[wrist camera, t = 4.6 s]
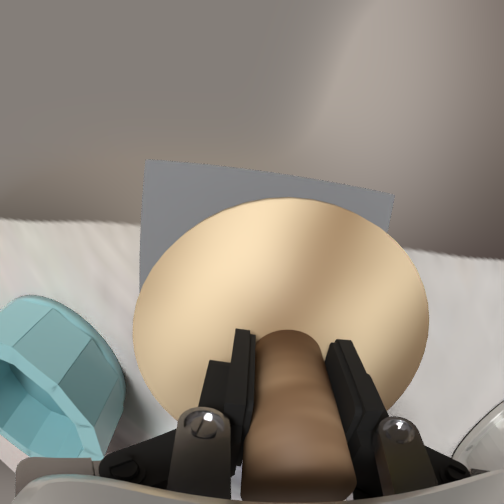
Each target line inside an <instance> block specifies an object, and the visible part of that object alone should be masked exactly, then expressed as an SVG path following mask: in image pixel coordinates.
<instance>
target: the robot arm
mask: <svg viewBox="0 0 504 504" xmlns="http://www.w3.org/2000/svg"><path fill="white" fill-rule="evenodd" d="M255 346H256V335H254V334H250V330H245V329H238V328H236V329H235V336H234V343H233V349H232V356H231V363H230V362H223V361H216V360H209V363H208V367H207V371H206V375H205V379H204V384H203V388H202V392H201V396H200V400H199V404H198V407H195V408H190V409H188V410H186V411H184V412H183V413H182V414H181V415H180V417H179V420H178V423H177V429H175V430H172V431H170V432H167V433H165V434H162V435H160V436H157V437H154V438H152V439H149V440H147V441H144V442H141V443H138V444H136V445H133V446H130V447H127V448H124V449H121V450H119V451H116V452H113V453H111V454H109V455H107V456H105V457H104V458H103V459H102V460H100V461H92V459H91V458H49V457H28V458H26V459H24V460H22V461H21V462H20V463H19V464H18V465H17V468H16V474H15V476H16V477H15V499H14V500H13V501H12V503H11V504H504V402H502V403H501V404H500V405H498V406H497V407H496V408H495V409H494V410H493V411H491V412H490V413H489V414H488V415H487V416H486V417H485V418H484V419H483V420H482V421H481V422H480V423H479V424H478V425H477V426H476V427H475V428H474V429H473V430H472V431H471V432H470V433H469V434H468V435H467V436H466V438H465V439H464V440H463V441H462V443H461V444H460V445H459V447H458V448H457V450H456V452H455V454H454V456H453V458H450V457H448V456H445V455H443V454H441V453H439V452H437V451H435V450H433V449H431V448H429V447H427V446H425V445H424V443H423V441H422V438H421V436H420V433H419V430H418V429H417V427H416V426H415V425H414V424H413V423H412V422H411V421H409V420H407V419H405V418H402V417H396V416H392V417H389V415H388V413H387V411H386V409H385V406H384V404H383V402H382V400H381V398H380V395H379V393H378V391H377V389H376V387H375V384H374V382H373V380H372V378H371V376H370V375H369V374H367V373H366V370H365V368H364V366H363V364H362V362H361V359H360V357H359V355H358V353H357V351H356V349H355V347H354V345H353V342H352V341H351V340H343V339H336V340H335V342H334V343H333V342H331V343H330V345H329V348H328V352H327V355H326V358H325V362H324V363H325V366H326V370H327V373H328V376H329V380H330V383H331V387H332V390H333V394H334V397H335V401H336V404H337V408H338V412H339V415H340V419H341V422H342V426H343V430H344V433H345V437H346V441H347V445H348V448H349V452H350V456H351V460H352V464H353V468H354V472H355V475H356V480H357V485H356V488H355V489H354V491H353V492H352V494H351V495H350V496H349V497H347V498H346V500H347V501H337V502H319V503H269V502H251V501H239V500H231V477H232V476H233V475H235V470H236V466H241V464H242V460H243V446H244V440H245V437H246V435H247V434H248V432H249V427H250V422H251V417H252V412H253V404H254V380H255Z"/></svg>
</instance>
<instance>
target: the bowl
mask: <svg viewBox="0 0 504 504" xmlns="http://www.w3.org/2000/svg"><path fill="white" fill-rule="evenodd" d="M125 396H126V384H125V379H124V375H123V372H122V369H121V367H120V365H119V362H118V360H117V358H116V357H115V355H114V353H113V352H112V350H111V349H110V347H109V346H108V344H107V343H106V342H105V340H104V339H103V338H102V337H101V336H100V335H99V333H98V332H97V331H96V330H95V329H94V328H93V327H92V326H91V325H90V324H89V323H88V322H87V321H85V320H84V319H83V318H82V317H81V316H79V315H78V314H77V313H75V312H74V311H72V310H71V309H69V308H68V307H66V306H64V305H63V304H61V303H59V302H56V301H54V300H52V299H49V298H46V297H43V296H37V295H25V296H20V297H18V298H16V299H14V300H13V301H11V302H10V303H9V304H7V305H6V306H4V307H2V308H1V309H0V434H1V435H2V436H3V437H4V438H6V439H7V440H8V441H9V442H11V443H12V444H13V445H15V446H16V447H17V448H19V449H20V450H21V451H23V452H24V453H25V454H27V455H28V456H29V457H49V458H91V459H92V461H100V460H102V459H103V458H104V456H105V453H106V451H107V448H108V446H109V443H110V441H111V438H112V436H113V434H114V431H115V429H116V426H117V424H118V422H119V419H120V417H121V414H122V412H123V410H124V408H123V404H124V401H125Z"/></svg>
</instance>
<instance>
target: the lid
mask: <svg viewBox="0 0 504 504" xmlns="http://www.w3.org/2000/svg"><path fill="white" fill-rule="evenodd" d="M236 328H238V329H245V330H250V334H254V335H256V346H255V380H254V404H253V412H252V417H251V422H250V427H249V432H248V434H247V435H246V437H245V440H244V446H243V462H242V478H241V498H242V500H243V501H251V502H269V503H319V502H337V501H343V500H345V499H346V498H347V497H349V496H350V495H351V494H352V492H353V491H354V489H355V488H356V485H357V480H356V475H355V472H354V468H353V464H352V460H351V456H350V452H349V448H348V445H347V441H346V437H345V433H344V430H343V426H342V422H341V419H340V415H339V412H338V408H337V404H336V401H335V397H334V394H333V390H332V387H331V383H330V380H329V376H328V373H327V370H326V366H325V363H324V362H325V358H326V355H327V352H328V348H329V345H330V343H331V342H333V343H334V342H335V340H336V339H343V340H351V341H352V342H353V345H354V347H355V349H356V351H357V353H358V355H359V357H360V359H361V362H362V364H363V366H364V368H365V370H366V373H367V374H369V375H370V376H371V378H372V380H373V382H374V384H375V387H376V389H377V391H378V393H379V395H380V398H381V400H382V402H383V404H384V406H385V409H386V411H387V410H388V409H389V408H390V407H392V405H393V404H394V403H395V402H396V401H397V400H398V399H399V397H400V396H401V395H402V394H403V393H404V391H405V390H406V388H407V387H408V385H409V384H410V382H411V381H412V379H413V377H414V375H415V373H416V371H417V369H418V367H419V365H420V362H421V360H422V357H423V354H424V351H425V347H426V342H427V338H428V328H429V311H428V302H427V297H426V293H425V289H424V285H423V283H422V281H421V278H420V276H419V273H418V271H417V269H416V267H415V266H414V264H413V263H412V261H411V259H410V258H409V256H408V255H407V253H406V252H405V251H404V250H403V249H402V248H401V246H399V244H398V243H397V242H396V241H395V240H394V239H393V238H391V237H390V236H389V235H388V234H387V233H386V232H385V231H383V230H382V229H381V228H380V227H378V226H376V225H375V224H373V223H371V222H370V221H368V220H366V219H365V218H363V217H361V216H359V215H358V214H356V213H354V212H352V211H350V210H347V209H345V208H342V207H340V206H337V205H335V204H331V203H327V202H323V201H319V200H314V199H307V198H296V197H279V198H265V199H260V200H254V201H249V202H245V203H242V204H239V205H236V206H233V207H230V208H227V209H224V210H222V211H220V212H218V213H216V214H214V215H212V216H210V217H208V218H206V219H204V220H203V221H201V222H200V223H198V224H197V225H195V226H194V227H192V228H191V229H190V230H188V231H187V232H186V233H185V234H184V235H183V236H181V237H180V238H179V239H178V240H177V241H176V242H175V243H174V244H173V245H172V246H171V247H170V248H169V249H168V250H167V251H166V252H165V253H164V254H163V255H162V257H161V258H160V259H159V260H158V262H157V263H156V264H155V265H154V267H153V268H152V270H151V271H150V273H149V275H148V277H147V279H146V280H145V282H144V284H143V286H142V289H141V291H140V294H139V297H138V300H137V302H136V307H135V313H134V318H133V344H134V352H135V356H136V360H137V363H138V367H139V370H140V372H141V374H142V376H143V379H144V381H145V383H146V385H147V386H148V388H149V389H150V391H151V393H152V394H153V396H154V397H155V398H156V400H157V401H158V402H159V403H160V404H161V406H162V407H163V408H164V409H165V410H166V411H167V412H168V413H169V414H170V415H171V416H172V417H173V418H174V419H176V420H177V421H178V420H179V417H180V415H181V414H182V413H183V412H184V411H186V410H188V409H190V408H195V407H198V404H199V400H200V396H201V392H202V388H203V384H204V379H205V375H206V371H207V367H208V363H209V360H216V361H223V362H230V363H231V356H232V349H233V343H234V336H235V329H236Z"/></svg>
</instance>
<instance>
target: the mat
mask: <svg viewBox="0 0 504 504" xmlns="http://www.w3.org/2000/svg"><path fill="white" fill-rule="evenodd" d="M279 197H296V198H307V199H314V200H319V201H323V202H327V203H331V204H335V205H337V206H340V207H342V208H345V209H347V210H350V211H352V212H354V213H356V214H358V215H359V216H361V217H363V218H365V219H366V220H368V221H370V222H371V223H373V224H375V225H376V226H378V227H380V228H381V229H382V230H383V231H385V232H386V233H387V232H388V227H389V223H390V218H391V212H392V208H393V203H394V197H395V195H393V194H389V193H385V192H380V191H375V190H370V189H366V188H361V187H355V186H350V185H345V184H340V183H334V182H329V181H323V180H317V179H311V178H305V177H299V176H293V175H286V174H280V173H273V172H265V171H258V170H251V169H242V168H234V167H226V166H217V165H208V164H198V163H188V162H176V161H164V160H150V159H149V160H146V162H145V172H144V184H143V197H142V213H141V234H140V291H141V289H142V286H143V284H144V282H145V280H146V279H147V277H148V275H149V273H150V271H151V270H152V268H153V267H154V265H155V264H156V263H157V262H158V260H159V259H160V258H161V257H162V255H163V254H164V253H165V252H166V251H167V250H168V249H169V248H170V247H171V246H172V245H173V244H174V243H175V242H176V241H177V240H178V239H179V238H180V237H181V236H183V235H184V234H185V233H186V232H187V231H188V230H190V229H191V228H192V227H194V226H195V225H197V224H198V223H200V222H201V221H203V220H204V219H206V218H208V217H210V216H212V215H214V214H216V213H218V212H220V211H222V210H224V209H227V208H230V207H233V206H236V205H239V204H242V203H245V202H249V201H254V200H260V199H265V198H279Z"/></svg>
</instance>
